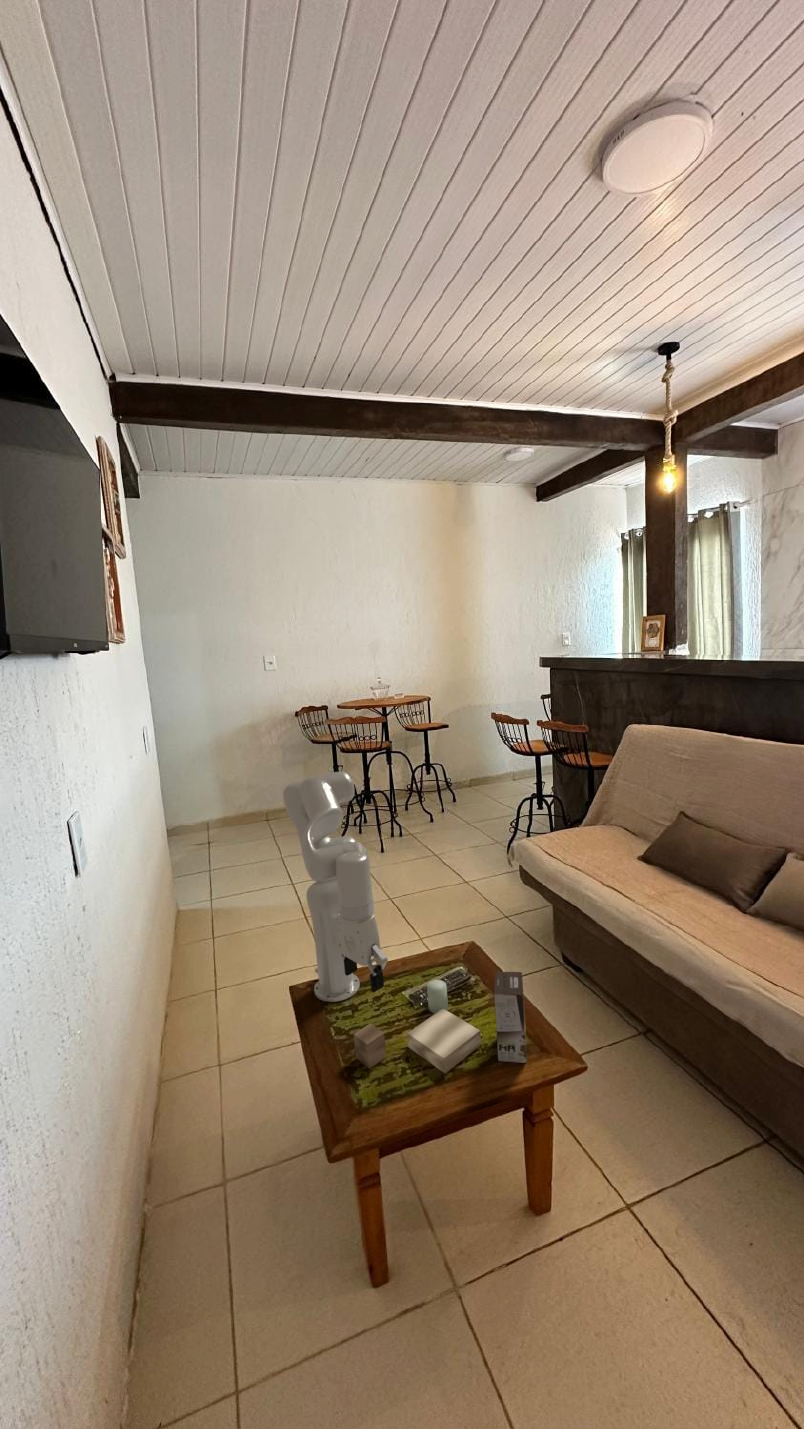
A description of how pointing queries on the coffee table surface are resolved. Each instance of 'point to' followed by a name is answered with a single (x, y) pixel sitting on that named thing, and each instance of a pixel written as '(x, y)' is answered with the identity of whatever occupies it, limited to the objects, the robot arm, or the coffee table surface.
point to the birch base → (444, 1040)
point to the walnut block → (370, 1045)
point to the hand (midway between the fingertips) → (364, 980)
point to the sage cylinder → (437, 996)
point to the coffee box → (510, 1016)
